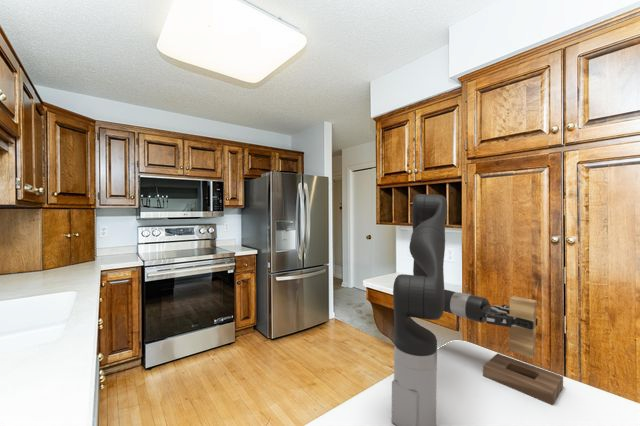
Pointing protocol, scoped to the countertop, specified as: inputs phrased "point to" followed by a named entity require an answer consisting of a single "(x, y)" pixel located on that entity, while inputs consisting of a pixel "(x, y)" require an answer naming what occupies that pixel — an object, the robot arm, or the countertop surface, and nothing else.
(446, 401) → the countertop surface
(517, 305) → the plank
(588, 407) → the countertop surface
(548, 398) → the base board
